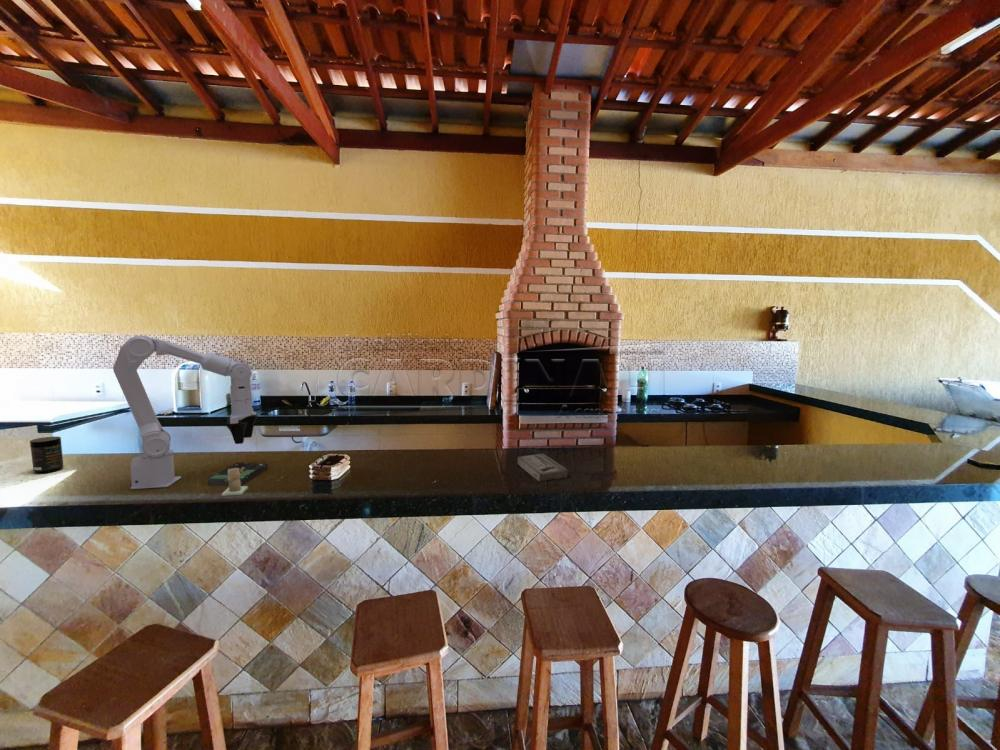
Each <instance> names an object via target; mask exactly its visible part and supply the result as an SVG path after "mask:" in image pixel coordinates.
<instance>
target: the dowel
mask: <svg viewBox="0 0 1000 750" xmlns="http://www.w3.org/2000/svg"><path fill="white" fill-rule="evenodd" d="M228 481H229V486H228V488H229V491H230V492H234V491H238V490H240V489H241V484H240V472H239V468H232V469H229V470H228Z"/></svg>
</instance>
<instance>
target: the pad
mask: <svg viewBox="0 0 1000 750" xmlns="http://www.w3.org/2000/svg"><path fill="white" fill-rule="evenodd" d="M248 489H249V486H248V485H242V486H241V489H240V490H238V491H234V492H230V491H229V487H227V488H226V489H225V490H224V491H223V492H222V493H221V497H226V496H240V495H243V494H244V493H245V492H246V491H247V490H248Z"/></svg>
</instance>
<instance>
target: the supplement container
mask: <svg viewBox="0 0 1000 750" xmlns="http://www.w3.org/2000/svg"><path fill="white" fill-rule="evenodd" d="M29 447H30V452H31V455H30V456H31V463H32V471H33V473H34V474H36V475H37V474H38V475H42V474H51V473H56V472H58V471H61V470H62V469H64V467H65V466H64V457H63V448H62V447H63V445H62V437H61V436H46V437H38V438H33V439H31V440H29Z"/></svg>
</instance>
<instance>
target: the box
mask: <svg viewBox="0 0 1000 750" xmlns="http://www.w3.org/2000/svg"><path fill="white" fill-rule="evenodd" d="M517 465H519V467H521V469H523V470H524V471H525V472H526V473H527V474H529V476H531V477H532V478H534V479H535V480H536V481H538V482H544V481H550V480H559V479H562V478H563V479H566V478H568V472H569V471H568V468H567V467H565V466H563V465H562V464H560V463H558V461H555V460H554V459H552V458H551V457H550V456H548V455H547V454H545V453H536V454H530V455H522V456H521V455H520V456H518V457H517Z"/></svg>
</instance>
